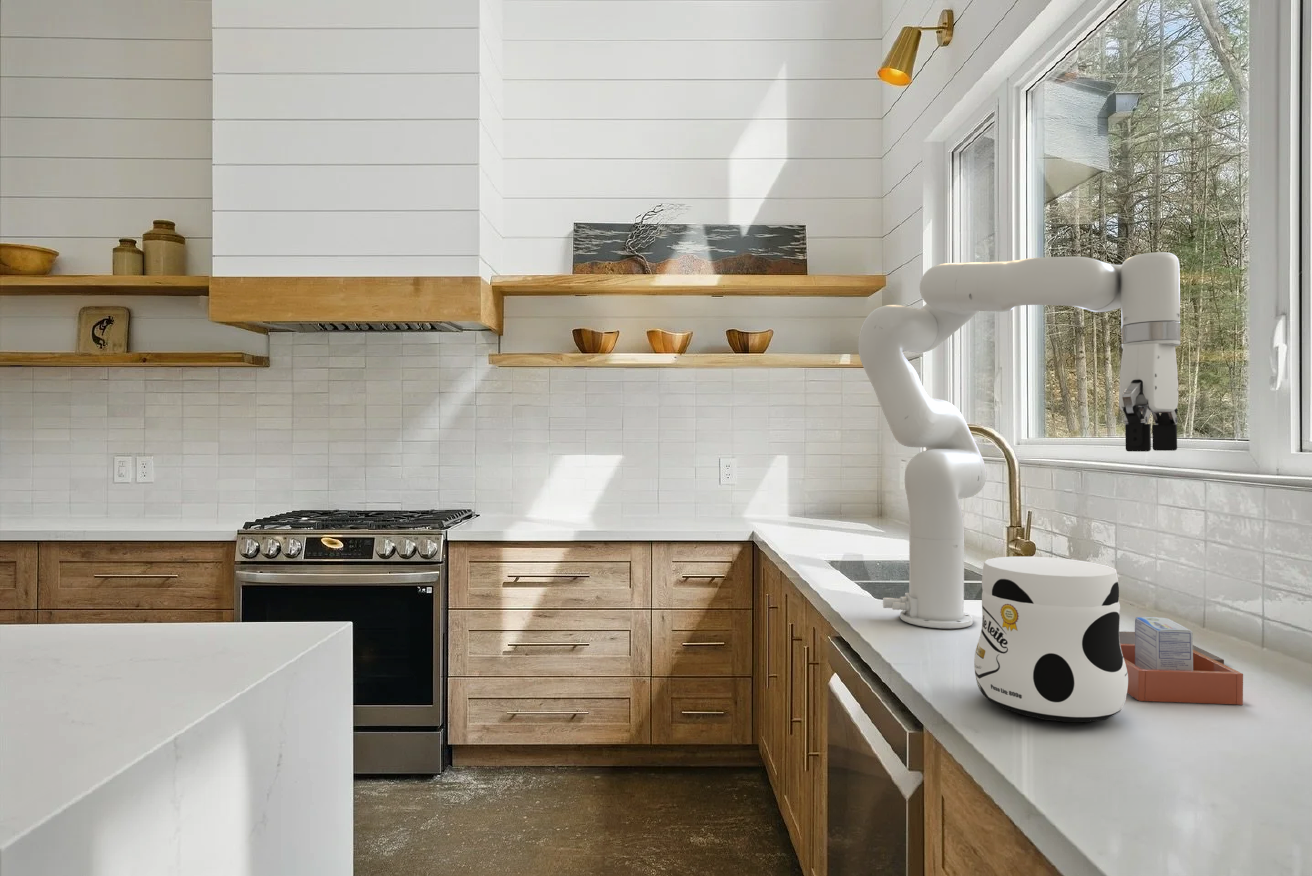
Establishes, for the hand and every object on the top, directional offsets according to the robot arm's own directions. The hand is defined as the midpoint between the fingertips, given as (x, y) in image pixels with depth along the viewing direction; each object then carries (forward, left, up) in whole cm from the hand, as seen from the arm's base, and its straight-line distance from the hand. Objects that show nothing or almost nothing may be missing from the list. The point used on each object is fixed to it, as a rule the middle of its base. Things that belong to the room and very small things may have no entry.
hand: (1151, 450), depth 119 cm
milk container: (-23, -22, -32) cm, 45 cm away
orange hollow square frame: (-4, -11, -32) cm, 34 cm away
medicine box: (-4, -11, -32) cm, 34 cm away
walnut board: (-1, +8, -32) cm, 33 cm away
